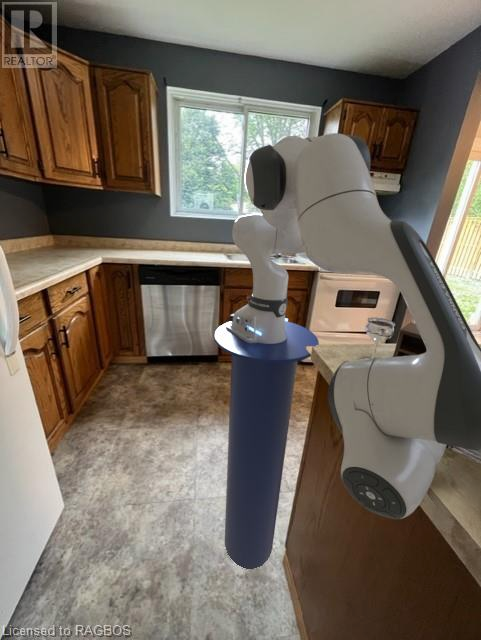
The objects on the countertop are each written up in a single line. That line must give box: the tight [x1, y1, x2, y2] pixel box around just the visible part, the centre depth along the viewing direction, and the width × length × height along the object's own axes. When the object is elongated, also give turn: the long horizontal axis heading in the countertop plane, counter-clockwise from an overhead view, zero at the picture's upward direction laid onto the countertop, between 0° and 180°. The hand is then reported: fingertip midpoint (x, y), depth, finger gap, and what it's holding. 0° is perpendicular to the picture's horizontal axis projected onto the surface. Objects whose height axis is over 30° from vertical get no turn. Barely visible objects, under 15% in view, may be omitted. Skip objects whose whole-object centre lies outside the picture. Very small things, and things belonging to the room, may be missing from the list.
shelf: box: [392, 321, 427, 357], centre depth 73 cm, size 9×9×10 cm
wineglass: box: [364, 317, 397, 359], centre depth 72 cm, size 7×7×12 cm
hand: (434, 393), depth 50 cm, fingers open, 8 cm apart
